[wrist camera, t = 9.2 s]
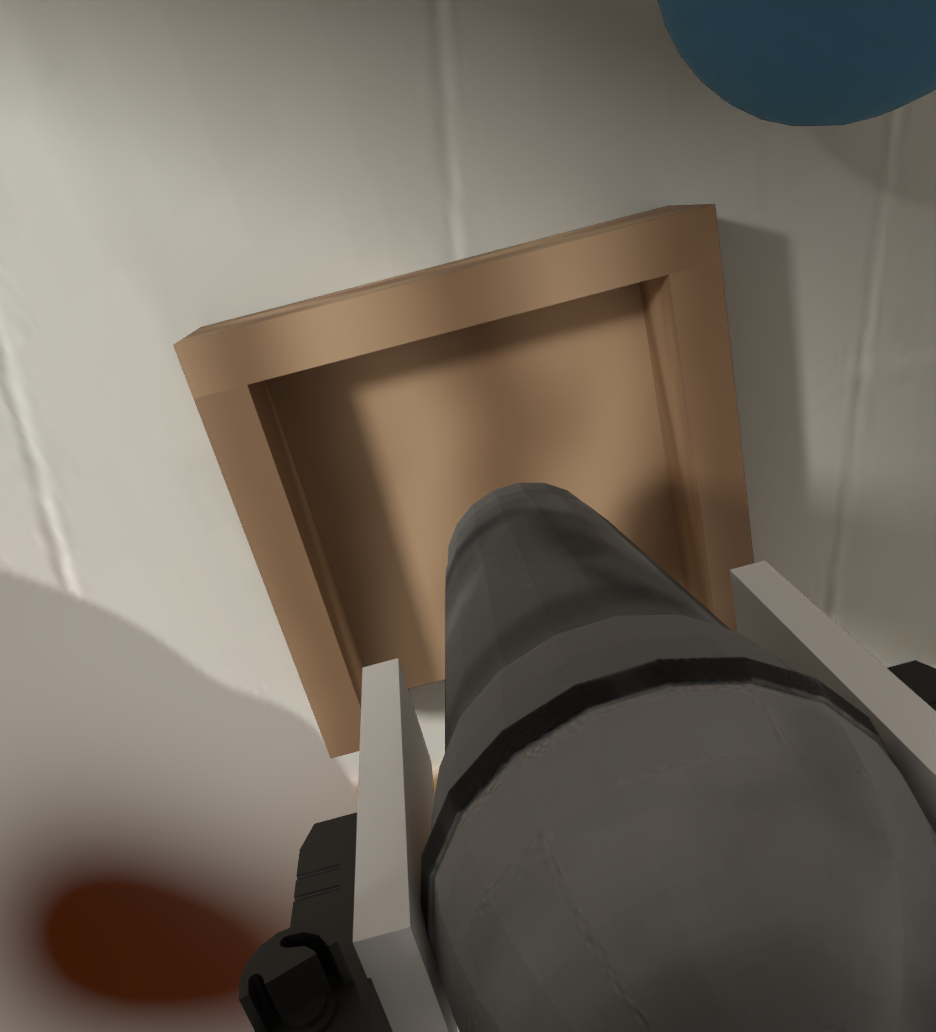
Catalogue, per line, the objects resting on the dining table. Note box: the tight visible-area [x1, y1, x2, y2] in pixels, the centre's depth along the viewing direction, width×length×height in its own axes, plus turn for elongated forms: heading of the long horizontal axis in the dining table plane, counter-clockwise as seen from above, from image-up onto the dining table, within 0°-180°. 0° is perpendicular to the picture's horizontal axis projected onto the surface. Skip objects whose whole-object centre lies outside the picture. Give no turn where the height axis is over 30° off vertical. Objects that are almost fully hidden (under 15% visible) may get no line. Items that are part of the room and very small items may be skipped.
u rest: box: [173, 204, 754, 758], centre depth 27 cm, size 16×15×4 cm
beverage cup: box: [421, 483, 936, 1032], centre depth 13 cm, size 7×7×20 cm
